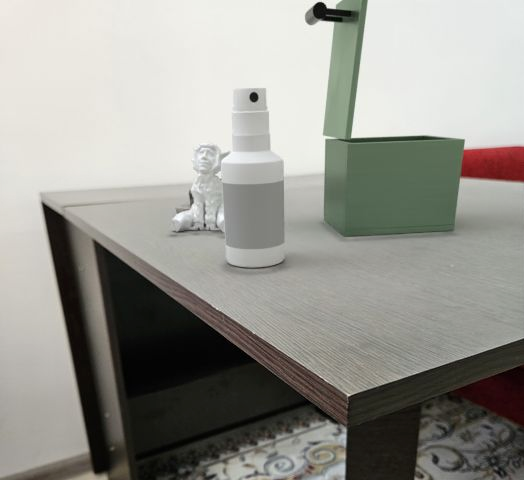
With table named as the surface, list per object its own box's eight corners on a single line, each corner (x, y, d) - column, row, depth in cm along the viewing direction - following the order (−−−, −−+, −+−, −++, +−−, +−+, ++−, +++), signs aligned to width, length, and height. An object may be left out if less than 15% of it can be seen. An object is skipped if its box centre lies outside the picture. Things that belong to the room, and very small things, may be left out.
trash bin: (418, 214, 84) (426, 135, 79) (453, 230, 73) (465, 139, 68) (323, 219, 82) (325, 138, 77) (344, 236, 71) (347, 143, 66)
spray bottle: (233, 271, 57) (224, 87, 50) (220, 256, 63) (210, 90, 56) (292, 264, 59) (291, 86, 51) (274, 251, 65) (271, 89, 57)
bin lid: (341, 5, 71) (301, 1, 70) (369, -16, 59) (321, -21, 58) (327, 135, 77) (290, 133, 77) (350, 139, 66) (307, 137, 65)
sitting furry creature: (168, 232, 77) (159, 144, 72) (189, 220, 84) (182, 141, 79) (230, 233, 75) (225, 143, 70) (245, 221, 82) (242, 139, 77)
